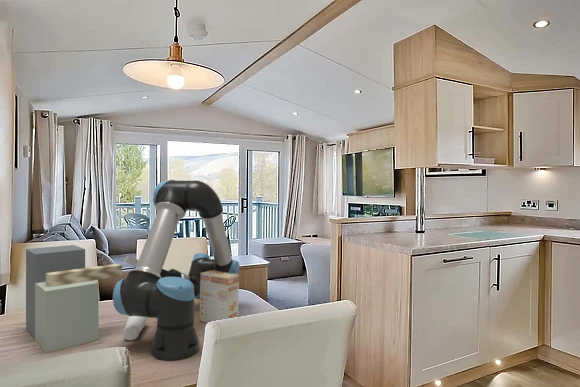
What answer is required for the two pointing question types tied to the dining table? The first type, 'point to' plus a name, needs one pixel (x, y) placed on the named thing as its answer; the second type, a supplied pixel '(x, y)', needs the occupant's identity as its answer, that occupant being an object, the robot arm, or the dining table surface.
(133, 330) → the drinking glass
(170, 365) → the dining table surface
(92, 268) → the wooden bar
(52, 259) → the two-tone stepped block
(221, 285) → the coffeecake box
